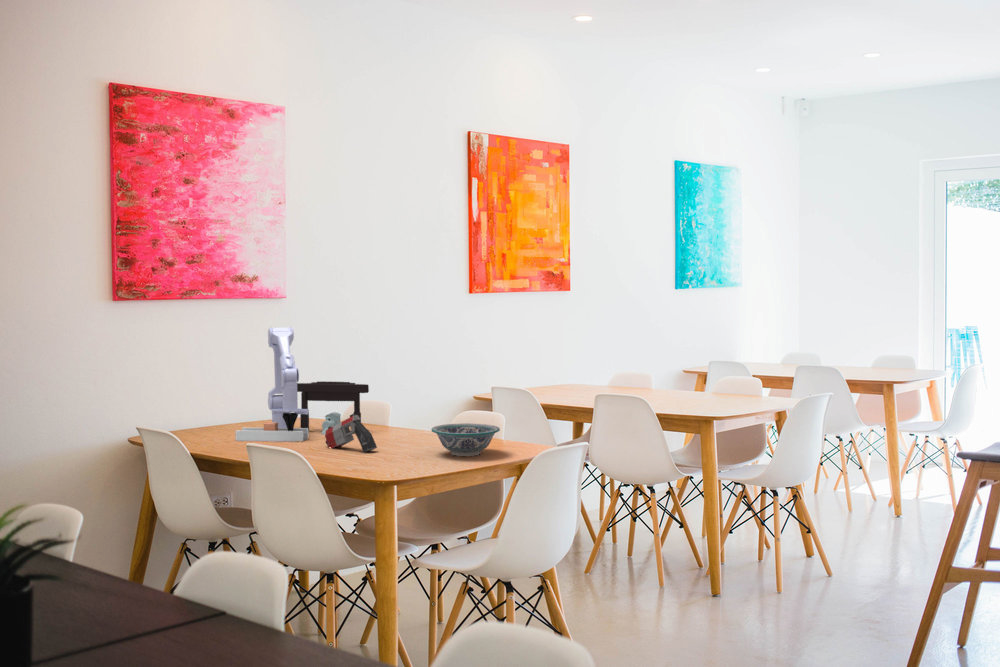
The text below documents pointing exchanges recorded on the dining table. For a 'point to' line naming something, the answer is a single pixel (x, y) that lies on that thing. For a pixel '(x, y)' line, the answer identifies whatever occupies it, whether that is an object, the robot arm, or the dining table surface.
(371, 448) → the toy gun
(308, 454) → the dining table surface
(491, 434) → the bowl
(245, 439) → the trap channel
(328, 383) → the black side table
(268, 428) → the block
